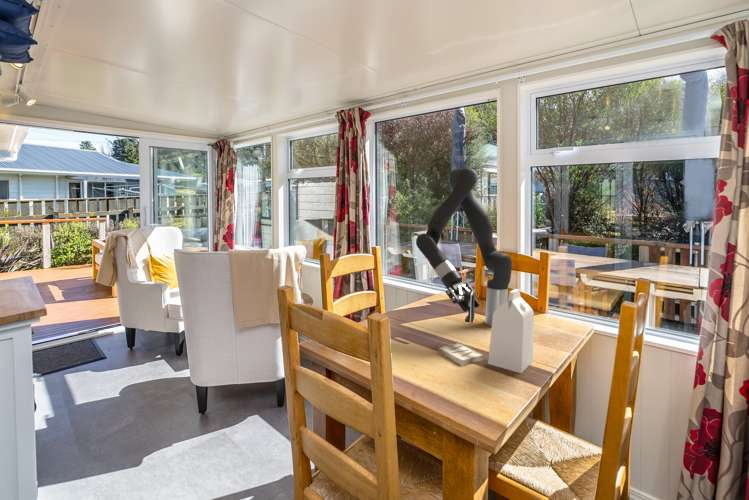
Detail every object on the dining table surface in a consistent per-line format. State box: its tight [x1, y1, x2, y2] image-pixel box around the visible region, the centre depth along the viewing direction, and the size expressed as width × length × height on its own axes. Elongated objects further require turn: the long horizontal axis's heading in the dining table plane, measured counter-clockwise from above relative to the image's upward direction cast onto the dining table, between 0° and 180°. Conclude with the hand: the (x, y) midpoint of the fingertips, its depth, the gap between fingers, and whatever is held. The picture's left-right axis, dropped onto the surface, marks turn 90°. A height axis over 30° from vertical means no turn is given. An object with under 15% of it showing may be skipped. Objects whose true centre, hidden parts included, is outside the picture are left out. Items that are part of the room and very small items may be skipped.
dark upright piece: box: [463, 290, 476, 324], centre depth 151 cm, size 7×4×11 cm, turn 160°
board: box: [437, 342, 485, 367], centre depth 142 cm, size 10×13×2 cm
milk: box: [487, 288, 535, 374], centre depth 135 cm, size 12×12×26 cm
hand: (472, 308), depth 150 cm, fingers closed on dark upright piece, 7 cm apart
